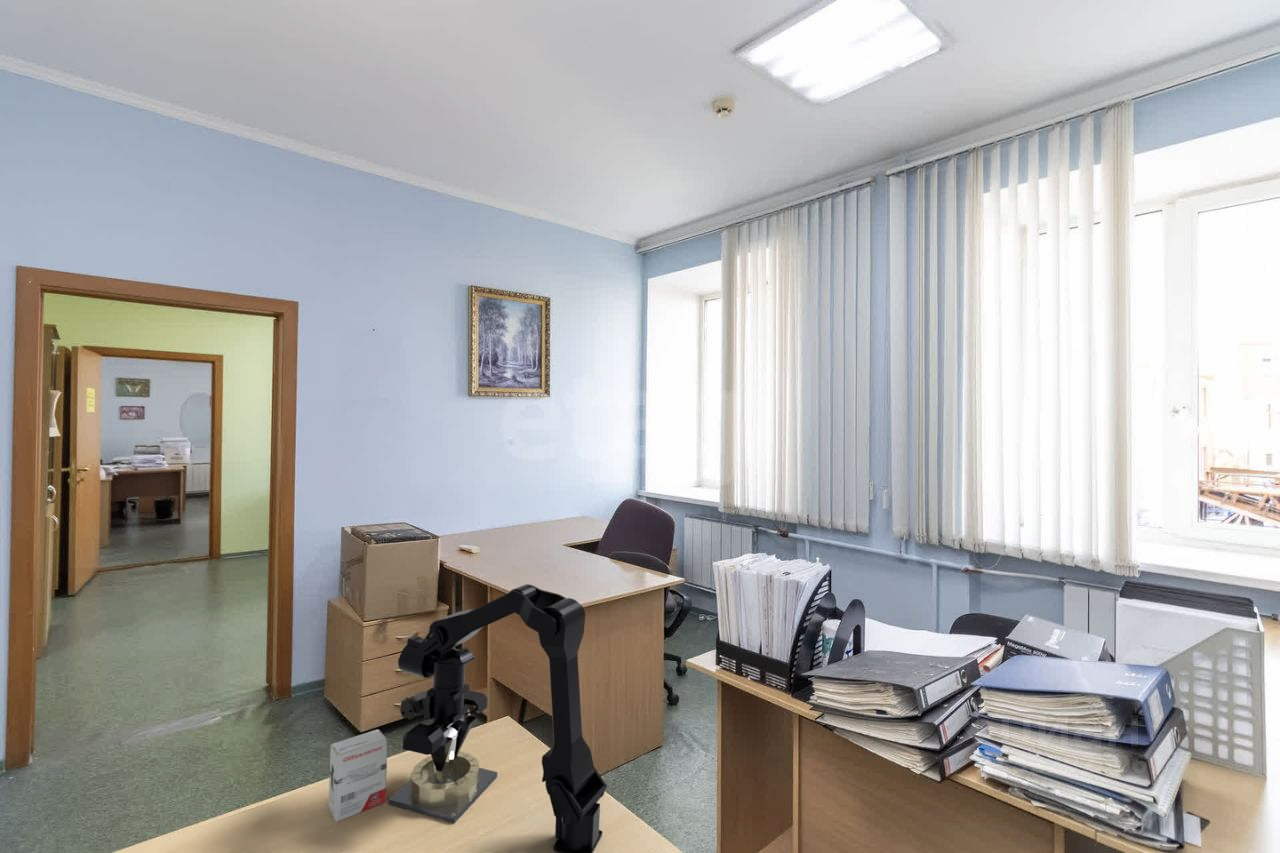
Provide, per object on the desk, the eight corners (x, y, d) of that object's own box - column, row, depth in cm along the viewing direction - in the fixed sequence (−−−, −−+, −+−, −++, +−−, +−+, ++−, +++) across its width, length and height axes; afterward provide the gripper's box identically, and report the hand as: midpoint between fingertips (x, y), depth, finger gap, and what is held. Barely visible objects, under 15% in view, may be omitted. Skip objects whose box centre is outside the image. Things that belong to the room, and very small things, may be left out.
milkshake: (452, 787, 107) (454, 733, 107) (426, 782, 108) (427, 729, 108) (464, 772, 111) (466, 721, 111) (439, 768, 113) (440, 717, 112)
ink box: (377, 789, 109) (379, 726, 109) (386, 802, 106) (388, 738, 106) (327, 808, 104) (329, 742, 104) (335, 823, 100) (337, 755, 100)
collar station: (497, 777, 114) (497, 756, 114) (454, 823, 101) (455, 800, 101) (436, 762, 119) (437, 742, 119) (388, 804, 105) (388, 782, 105)
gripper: (442, 657, 121) (440, 732, 121) (378, 696, 103) (375, 784, 103) (489, 665, 118) (487, 742, 118) (431, 707, 100) (428, 798, 100)
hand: (446, 764), depth 110 cm, fingers closed on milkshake, 4 cm apart
